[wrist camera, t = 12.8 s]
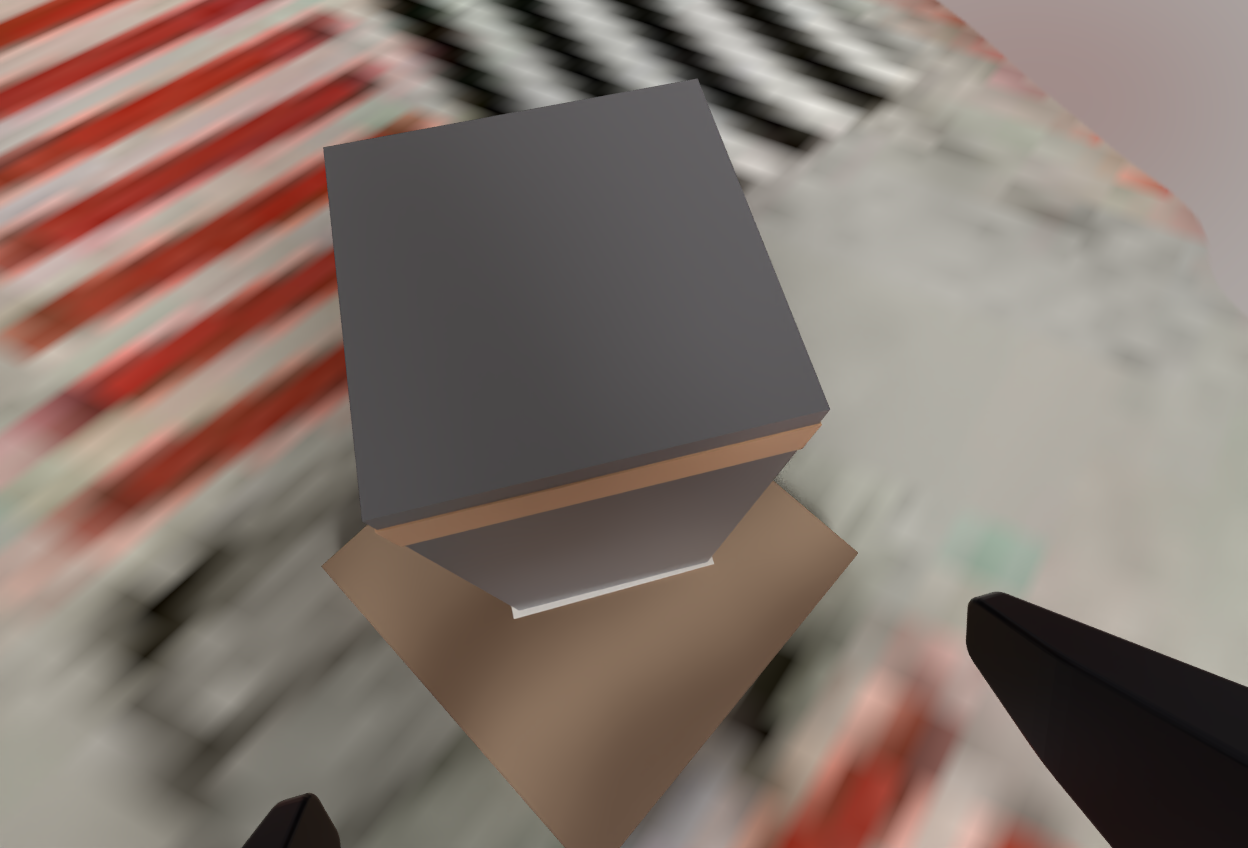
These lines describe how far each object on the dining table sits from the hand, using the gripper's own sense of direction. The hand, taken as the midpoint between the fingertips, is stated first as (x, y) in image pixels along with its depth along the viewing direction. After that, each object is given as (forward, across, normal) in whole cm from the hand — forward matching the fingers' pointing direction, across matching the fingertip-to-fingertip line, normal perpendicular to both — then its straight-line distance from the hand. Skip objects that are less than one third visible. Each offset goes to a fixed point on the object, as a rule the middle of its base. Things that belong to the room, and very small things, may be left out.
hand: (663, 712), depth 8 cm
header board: (+12, 0, +6) cm, 13 cm away
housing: (+12, 0, +3) cm, 12 cm away
